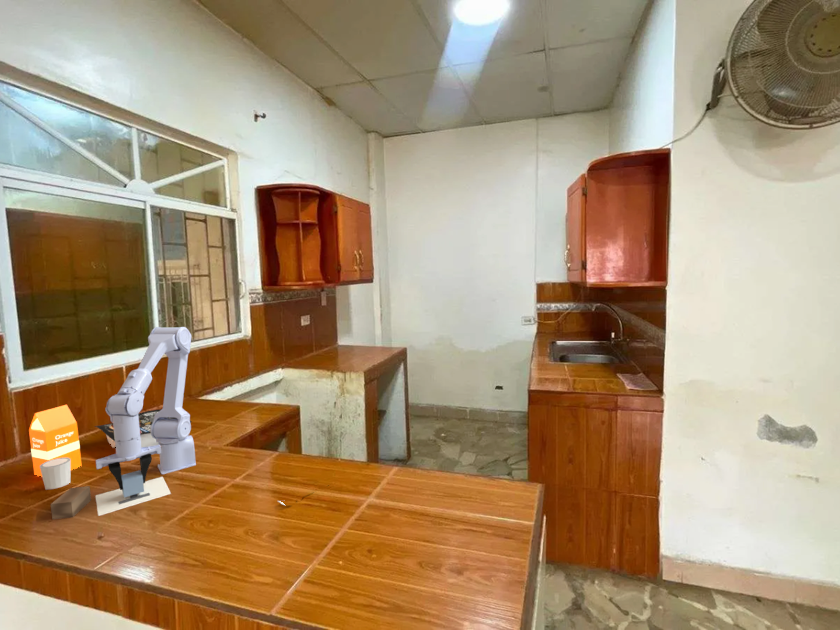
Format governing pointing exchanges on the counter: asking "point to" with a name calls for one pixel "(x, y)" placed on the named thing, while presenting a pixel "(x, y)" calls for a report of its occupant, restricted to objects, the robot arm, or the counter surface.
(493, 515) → the counter surface
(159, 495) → the letter mat
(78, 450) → the orange juice
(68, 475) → the white cup
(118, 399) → the robot arm
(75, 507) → the walnut bar
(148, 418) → the food packaging
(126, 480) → the blue cube
